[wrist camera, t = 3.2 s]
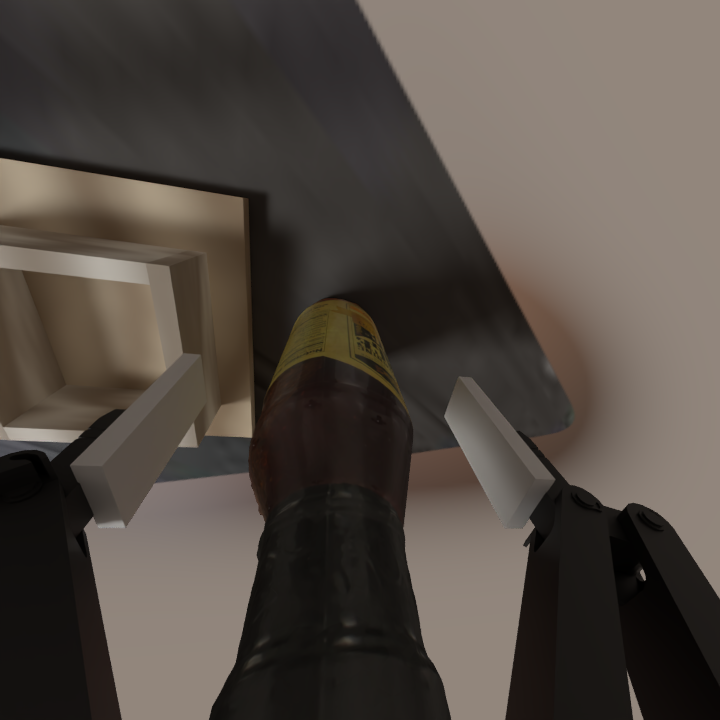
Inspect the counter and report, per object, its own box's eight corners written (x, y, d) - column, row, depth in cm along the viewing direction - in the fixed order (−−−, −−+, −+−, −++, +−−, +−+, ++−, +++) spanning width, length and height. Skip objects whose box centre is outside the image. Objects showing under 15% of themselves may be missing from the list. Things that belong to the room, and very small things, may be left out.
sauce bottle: (381, 358, 23) (535, 822, 6) (307, 375, 23) (234, 879, 6) (365, 279, 20) (596, 771, 3) (279, 299, 20) (-58, 898, 3)
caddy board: (50, 417, 23) (-28, 476, 18) (-73, 145, 15) (-281, 114, 10) (255, 427, 25) (236, 482, 20) (248, 198, 17) (213, 194, 12)
